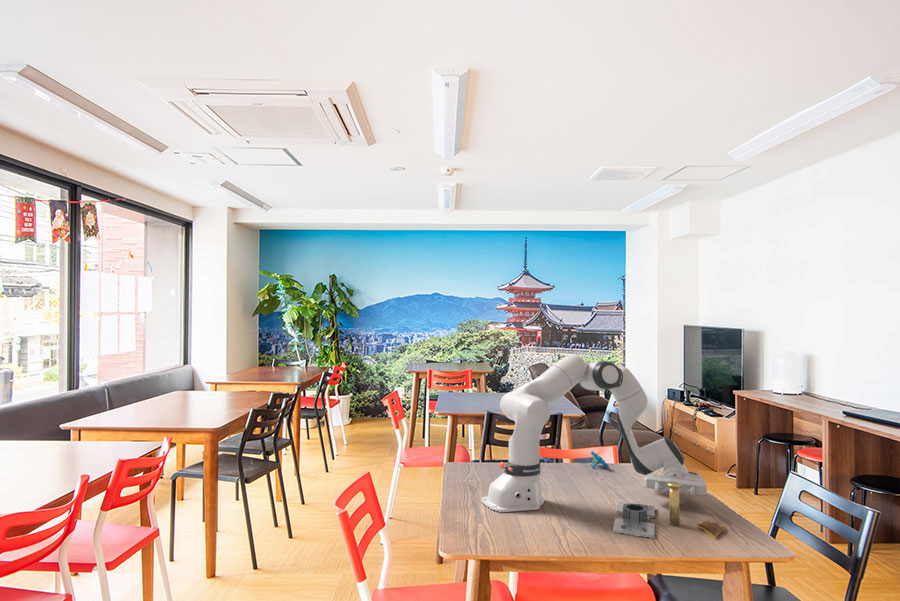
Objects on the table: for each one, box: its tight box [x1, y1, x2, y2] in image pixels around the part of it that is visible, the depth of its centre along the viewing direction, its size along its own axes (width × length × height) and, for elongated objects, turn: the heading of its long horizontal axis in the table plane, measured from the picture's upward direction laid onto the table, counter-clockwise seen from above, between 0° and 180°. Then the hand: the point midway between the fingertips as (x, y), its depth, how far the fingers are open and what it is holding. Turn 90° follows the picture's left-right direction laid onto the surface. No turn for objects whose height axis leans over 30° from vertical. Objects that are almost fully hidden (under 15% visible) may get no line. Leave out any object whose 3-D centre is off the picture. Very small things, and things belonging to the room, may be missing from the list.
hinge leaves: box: [612, 501, 656, 539], centre depth 167 cm, size 27×12×4 cm, turn 158°
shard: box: [696, 519, 726, 540], centre depth 158 cm, size 11×8×2 cm
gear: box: [590, 450, 610, 469], centre depth 228 cm, size 11×6×10 cm
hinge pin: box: [667, 482, 682, 527], centre depth 163 cm, size 4×4×13 cm
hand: (674, 490), depth 173 cm, fingers open, 8 cm apart
